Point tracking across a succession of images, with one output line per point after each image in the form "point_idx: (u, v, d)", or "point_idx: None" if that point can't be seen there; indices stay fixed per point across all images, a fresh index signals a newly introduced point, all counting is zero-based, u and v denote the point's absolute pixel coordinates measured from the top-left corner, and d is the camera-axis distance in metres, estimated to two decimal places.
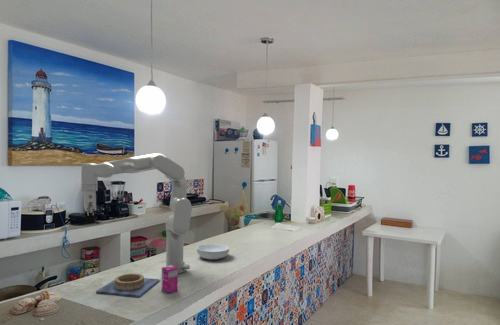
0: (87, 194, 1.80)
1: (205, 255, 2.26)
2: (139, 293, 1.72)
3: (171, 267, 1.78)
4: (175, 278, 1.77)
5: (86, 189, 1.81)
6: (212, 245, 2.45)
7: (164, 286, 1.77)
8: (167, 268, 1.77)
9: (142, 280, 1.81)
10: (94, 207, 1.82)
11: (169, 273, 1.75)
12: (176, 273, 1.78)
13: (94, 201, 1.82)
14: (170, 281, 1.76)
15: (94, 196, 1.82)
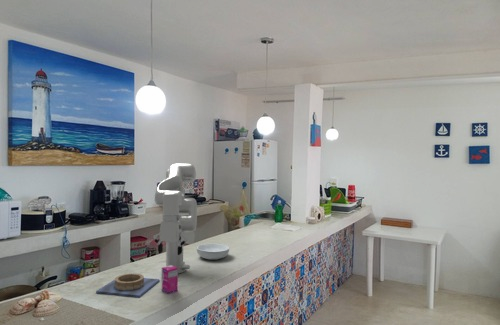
0: (178, 225, 1.75)
1: (205, 255, 2.26)
2: (139, 293, 1.72)
3: (171, 267, 1.78)
4: (175, 278, 1.77)
5: (175, 220, 1.75)
6: (212, 245, 2.45)
7: (164, 286, 1.77)
8: (167, 268, 1.77)
9: (142, 280, 1.81)
10: (181, 237, 1.79)
11: (169, 273, 1.75)
12: (176, 273, 1.78)
13: (181, 231, 1.79)
14: (170, 281, 1.76)
15: (181, 226, 1.79)
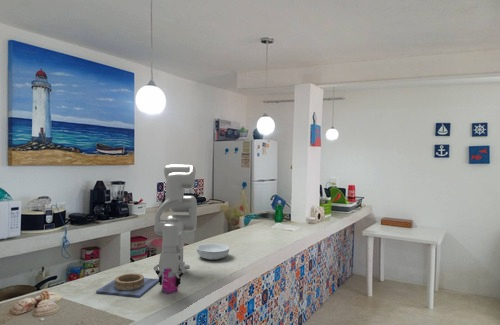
0: (177, 256, 1.76)
1: (205, 255, 2.26)
2: (139, 293, 1.72)
3: None
4: (175, 278, 1.77)
5: (175, 251, 1.76)
6: (212, 245, 2.45)
7: (164, 286, 1.77)
8: None
9: (142, 280, 1.81)
10: None
11: (169, 273, 1.75)
12: None
13: (181, 261, 1.79)
14: (170, 281, 1.76)
15: (180, 256, 1.79)
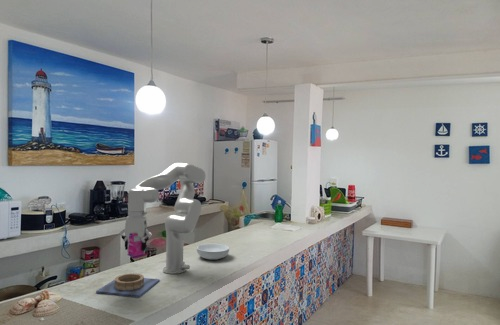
0: (143, 220, 1.79)
1: (205, 255, 2.26)
2: (139, 293, 1.72)
3: None
4: (141, 243, 1.80)
5: (140, 216, 1.78)
6: (212, 245, 2.45)
7: (129, 250, 1.79)
8: None
9: (142, 280, 1.81)
10: None
11: (135, 237, 1.77)
12: None
13: (146, 226, 1.82)
14: (136, 245, 1.78)
15: (146, 221, 1.82)
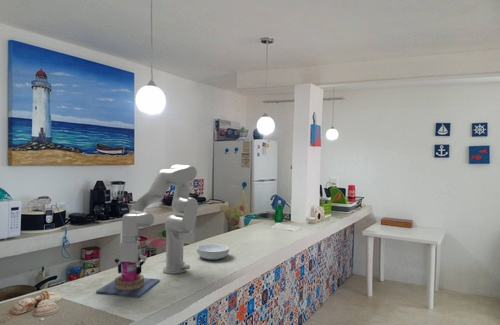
0: (137, 246, 1.79)
1: (205, 255, 2.26)
2: (139, 293, 1.72)
3: None
4: (134, 272, 1.81)
5: (134, 241, 1.79)
6: (212, 245, 2.45)
7: (123, 280, 1.80)
8: (126, 262, 1.81)
9: (142, 280, 1.81)
10: None
11: (128, 267, 1.79)
12: (135, 267, 1.82)
13: (140, 251, 1.83)
14: (129, 275, 1.79)
15: (140, 246, 1.83)
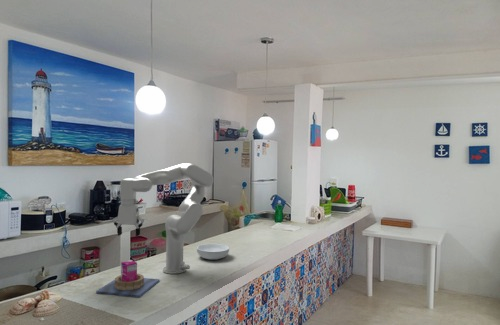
0: (135, 208, 1.88)
1: (205, 255, 2.26)
2: (139, 293, 1.72)
3: (131, 262, 1.82)
4: (134, 272, 1.81)
5: (133, 204, 1.88)
6: (212, 245, 2.45)
7: (123, 280, 1.80)
8: (126, 262, 1.81)
9: (142, 280, 1.81)
10: (139, 219, 1.92)
11: (128, 267, 1.79)
12: (135, 267, 1.82)
13: None
14: (129, 275, 1.79)
15: (138, 209, 1.92)
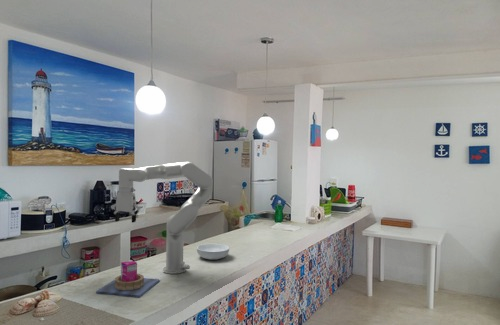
0: (132, 196, 2.00)
1: (205, 255, 2.26)
2: (139, 293, 1.72)
3: (131, 262, 1.82)
4: (134, 272, 1.81)
5: (129, 192, 2.00)
6: (212, 245, 2.45)
7: (123, 280, 1.80)
8: (126, 262, 1.81)
9: (142, 280, 1.81)
10: (135, 207, 2.03)
11: (128, 267, 1.79)
12: (135, 267, 1.82)
13: (135, 202, 2.03)
14: (129, 275, 1.79)
15: None
